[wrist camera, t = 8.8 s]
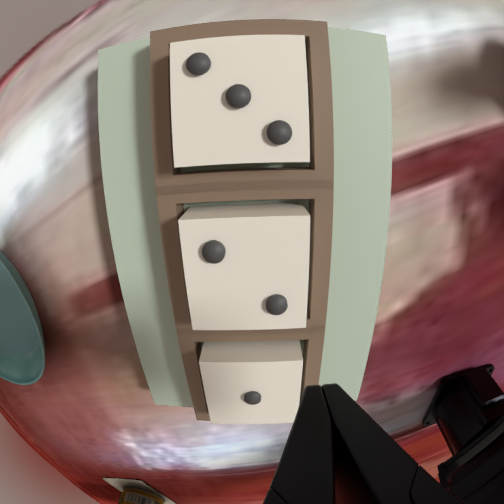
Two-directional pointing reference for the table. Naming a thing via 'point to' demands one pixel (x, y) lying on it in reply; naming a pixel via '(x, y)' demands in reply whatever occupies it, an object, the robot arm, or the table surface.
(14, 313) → the saucer
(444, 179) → the table surface
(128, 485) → the condiment
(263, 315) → the two-pip key
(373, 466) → the robot arm
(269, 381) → the one-pip key
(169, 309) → the board
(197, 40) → the three-pip key
